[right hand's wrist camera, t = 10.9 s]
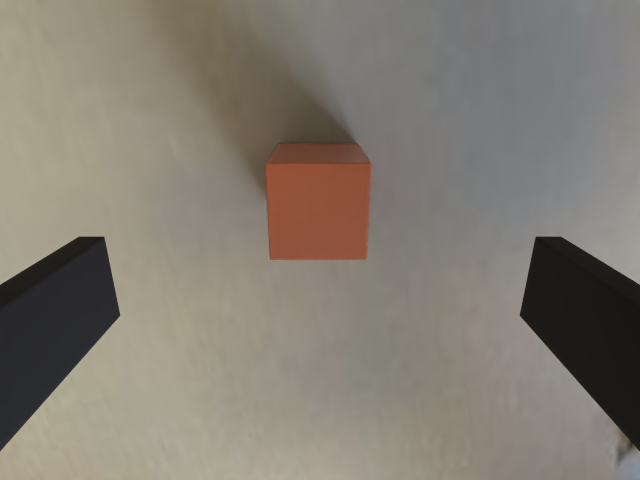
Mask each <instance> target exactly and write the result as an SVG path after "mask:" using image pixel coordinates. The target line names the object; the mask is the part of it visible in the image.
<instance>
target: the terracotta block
mask: <svg viewBox="0 0 640 480" xmlns="http://www.w3.org/2000/svg"><path fill="white" fill-rule="evenodd" d="M265 172H266V192H267V212H268V232H269V253H270V260H366V259H367V244H368V223H369V201H370V180H371V163H370V161H369V160H368V158H367V157H366V155H365V153H364V152H363V150H362V149H361V147H360V146H359V144H357V143H350V144H278V145H277V147H276V148H275V150H274V151H273V153H272V154H271V156H270V157H269V159H268V160H267V162H266V163H265Z"/></svg>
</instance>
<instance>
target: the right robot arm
mask: <svg viewBox="0 0 640 480" xmlns="http://www.w3.org/2000/svg"><path fill="white" fill-rule="evenodd" d="M119 316H120V312H119V307H118V302H117V297H116V292H115V287H114V282H113V278H112V273H111V268H110V263H109V258H108V253H107V248H106V243H105V238H104V237H78V238H76V239H74V240H73V241H71V242H70V243H68V244H66V245H65V246H63V247H61V248H60V249H58V250H56V251H55V252H53V253H52V254H50V255H48V256H47V257H45V258H43V259H42V260H40V261H38V262H37V263H35V264H34V265H32V266H30V267H29V268H27V269H25V270H24V271H22V272H20V273H19V274H17V275H16V276H14V277H12V278H11V279H9V280H7V281H6V282H4V283H2V284H1V285H0V451H1V450H2V449H3V448H4V446H5V445H6V444H7V443H8V442H9V441H10V440H11V438H12V437H13V436H14V435H15V434H16V433H17V432H18V431H19V429H20V428H21V427H22V426H23V425H24V424H25V423H26V421H27V420H28V419H29V418H30V417H31V416H32V415H33V414H34V412H35V411H36V410H37V409H38V408H39V407H40V406H41V405H42V403H43V402H44V401H45V400H46V399H47V398H48V397H49V395H50V394H51V393H52V392H53V391H54V390H55V389H56V388H57V386H58V385H59V384H60V383H61V382H62V381H63V380H64V379H65V377H66V376H67V375H68V374H69V373H70V372H71V371H72V369H73V368H74V367H75V366H76V365H77V364H78V363H79V362H80V360H81V359H82V358H83V357H84V356H85V355H86V354H87V353H88V351H89V350H90V349H91V348H92V347H93V346H94V345H95V343H96V342H97V341H98V340H99V339H100V338H101V337H102V336H103V334H104V333H105V332H106V331H107V330H108V329H109V328H110V327H111V325H112V324H113V323H114V322H115V321H116V320H117V319H118V317H119ZM520 316H521V317H522V319H523V320H524V321H525V322H526V323H527V324H528V325H529V327H530V328H531V329H532V330H533V331H534V332H535V333H536V334H537V336H538V337H539V338H540V339H541V340H542V341H543V342H544V343H545V345H546V346H547V347H548V348H549V349H550V350H551V351H552V353H553V354H554V355H555V356H556V357H557V358H558V359H559V360H560V362H561V363H562V364H563V365H564V366H565V367H566V368H567V369H568V371H569V372H570V373H571V374H572V375H573V376H574V377H575V379H576V380H577V381H578V382H579V383H580V384H581V385H582V386H583V388H584V389H585V390H586V391H587V392H588V393H589V394H590V395H591V397H592V398H593V399H594V400H595V401H596V402H597V403H598V405H599V406H600V407H601V408H602V409H603V410H604V411H605V412H606V414H607V415H608V416H609V417H610V418H611V419H612V420H613V421H614V423H615V424H616V425H617V426H618V427H619V428H620V429H621V431H622V432H623V433H624V434H625V435H626V436H627V437H628V438H629V440H630V441H631V442H632V443H633V444H634V445H635V446H636V448H637V449H638V450H639V451H640V285H639V284H638V283H636V282H634V281H633V280H631V279H629V278H628V277H626V276H624V275H623V274H621V273H620V272H618V271H616V270H615V269H613V268H611V267H610V266H608V265H606V264H605V263H603V262H602V261H600V260H598V259H597V258H595V257H593V256H592V255H590V254H588V253H587V252H585V251H584V250H582V249H580V248H579V247H577V246H575V245H574V244H572V243H570V242H569V241H567V240H566V239H564V238H562V237H536V238H535V243H534V248H533V253H532V258H531V263H530V268H529V273H528V278H527V282H526V287H525V292H524V297H523V302H522V307H521V312H520Z"/></svg>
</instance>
